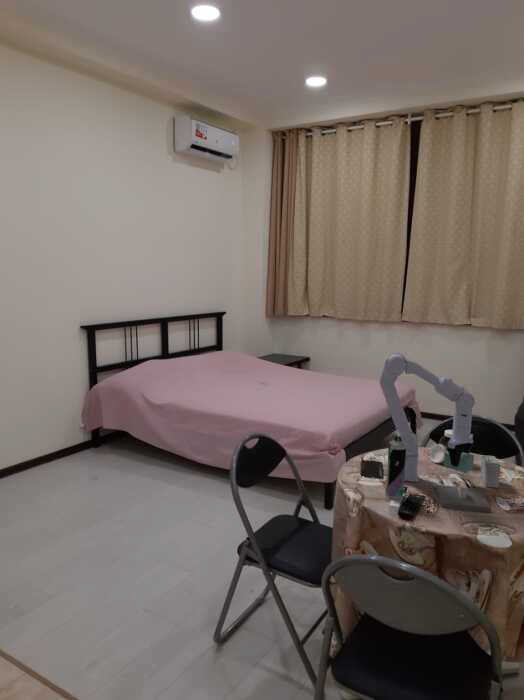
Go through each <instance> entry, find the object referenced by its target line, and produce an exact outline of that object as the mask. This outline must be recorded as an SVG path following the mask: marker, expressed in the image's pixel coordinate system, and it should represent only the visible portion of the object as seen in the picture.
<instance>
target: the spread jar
mask: <svg viewBox="0 0 524 700" xmlns="http://www.w3.org/2000/svg"><path fill="white" fill-rule="evenodd" d="M452 431H453V429H446V430H444V436H442V437H441V438H440V440H439V442H438V444H435V445H433V446H432V447H431V449H430V452H429V457H430V460H431V461H432V462H433V463H436V464H441V463H444V459H445V452H447V451H448V450H447V448H446V445H447V444H448V442H449V441H450V439H451V437H452Z"/></svg>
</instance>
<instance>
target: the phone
mask: <svg viewBox="0 0 524 700" xmlns="http://www.w3.org/2000/svg"><path fill="white" fill-rule="evenodd" d="M383 472H384V471H383V462H381V461H378V460H377V461H376V460H367V459H366V460H365V459H362V460H361V461H360V473H359V476H360V475H361V476H360V477H362V476H364V477H363V478H369V477H375V478H374V479H379V478H381V479H383Z"/></svg>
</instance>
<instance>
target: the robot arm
mask: <svg viewBox="0 0 524 700" xmlns="http://www.w3.org/2000/svg"><path fill="white" fill-rule="evenodd" d="M404 372H405V375H410V374H411V375H415V376H417V377H418V378H421V379H423V380H424V381H425V382H427V383H428V384H431V385H432V386H434V391H435V392H436V393H438V394H440V396H443V397H444V398H445V399H447V400H449V401H450V402H453V403H454V404H455V405H454V411H453V419H452V420H453V421H452V422H453V423H452V430H453V431H452V437H451V439H450V441H449V442H448V444H447V445H446V448H447V450H448V452H449V455H450V460H451V465H452V466H455V467H458V465H459V461H460V457H461V454H462V452H464V453H468V454H470V452H471V450H472V449H473V447H474V446H475V443H474V440H473V437H474V434H473V433H471V430H472V420H473V407H475V404H476V401H475V398H474V396H473V394H472V393H471V392H470V391H469V390H468V389H466V388H465V387H464V386H460V385H458V384H457V383H455V382H454V381H453V378H451V377H446V376H443V377H440V376H437V375H436V374H434V373H433V372H431V371H430V370H429V369H427V368H426V367H424V366H422V365H421V364H419V362H416V361H415V360H413V359H412V358H410V357H408V356H404V355H403V354H402V353H400V352H394V353H391V354H390V355H389V356H388V357H387V359H386V360H385V362H384V365H383V368H382V371H381V375H380V378H379V385H380V387H381V391H382V393H383V396H384V399H385V403H386V404H387V407H388V410H389V413H390V416H391V418H392V421H393V424H394V426H395V429H396V433H397V436H401V440H402V441H403V442H404V443H406V459H405V474H404V482H412V483H419V482H420V480H419V477H418V476H419V475H418V464H419V463H418V462H419V451H418V450H419V444H418V437H417V435H416V433H414V432H413V430H412V428H411V426H410V423H409V421H408V418H407V415H406V413H405V410H404V407H403V405H402V402H401V399H400V397H399V393H398V390H397V387H396V385H395V383H396V381H397V380H398V377H400V376H401V375H402V374H403V373H404Z"/></svg>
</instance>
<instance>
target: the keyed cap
mask: <svg viewBox="0 0 524 700" xmlns="http://www.w3.org/2000/svg"><path fill="white" fill-rule="evenodd" d="M474 462H475V455H474V454H470V453H469V454H468V453H464V452H462V454H461V457H460V461H459V465H458V467H455V466H452V465H451V460H450V455H449V452H448V451H447V452H445V459H444V462H443V467H444V468H448V469H451V470H454V471H457V472H461V473H464V474H467V473H469V472H471V471H473V470H474Z"/></svg>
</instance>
